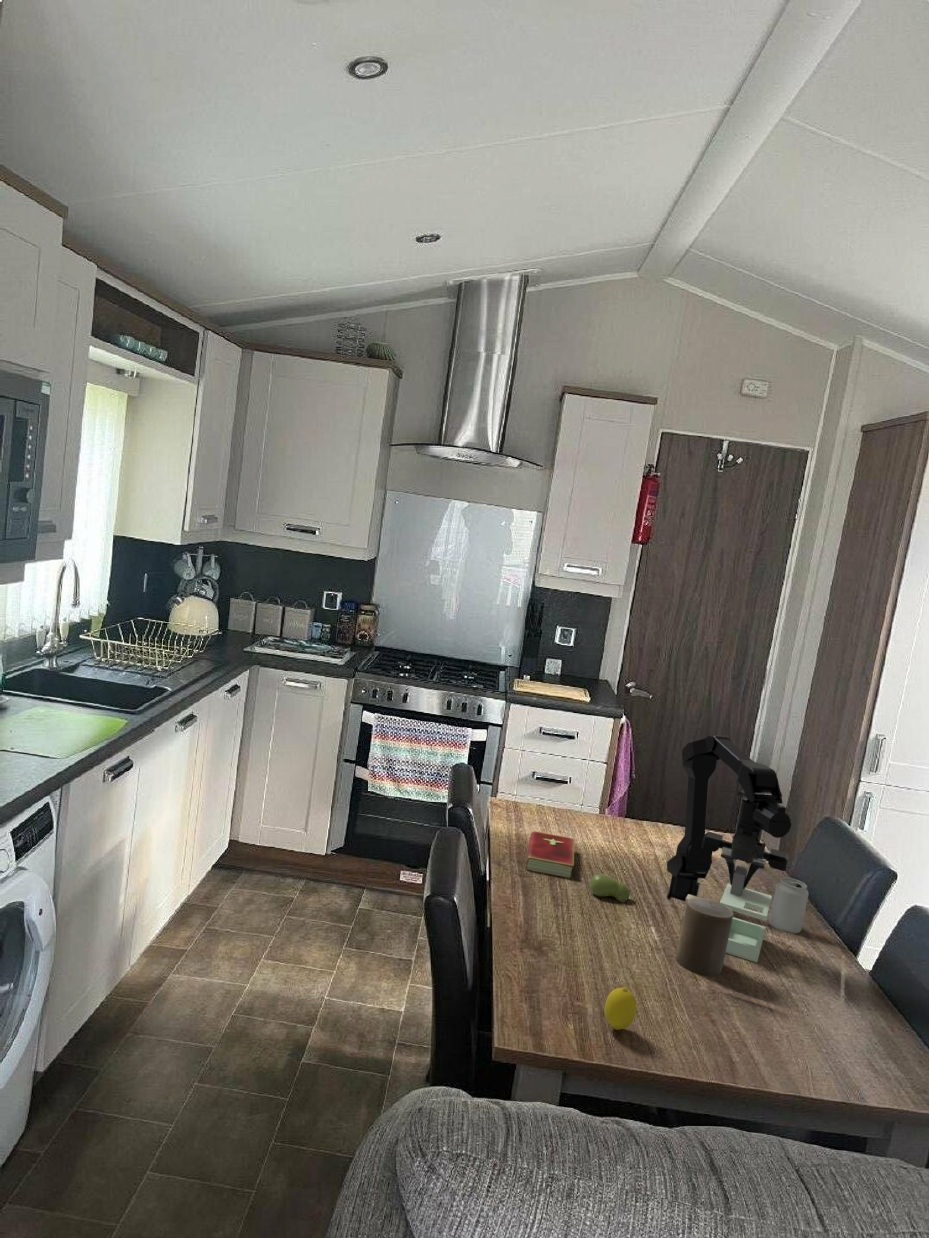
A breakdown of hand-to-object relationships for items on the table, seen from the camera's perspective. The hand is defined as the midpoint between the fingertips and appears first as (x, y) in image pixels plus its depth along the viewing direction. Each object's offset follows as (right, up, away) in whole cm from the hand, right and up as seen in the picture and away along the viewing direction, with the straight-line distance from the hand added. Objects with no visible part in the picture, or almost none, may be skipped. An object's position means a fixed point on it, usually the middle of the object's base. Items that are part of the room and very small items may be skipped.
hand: (737, 886), depth 213 cm
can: (+15, -14, +12) cm, 24 cm away
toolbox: (-1, -13, -3) cm, 13 cm away
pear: (-27, -7, +15) cm, 32 cm away
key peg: (-12, -11, 0) cm, 16 cm away
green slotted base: (+1, -3, -4) cm, 5 cm away
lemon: (-35, -13, -46) cm, 59 cm away
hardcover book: (-40, -3, +34) cm, 53 cm away
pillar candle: (-13, -13, -16) cm, 24 cm away
